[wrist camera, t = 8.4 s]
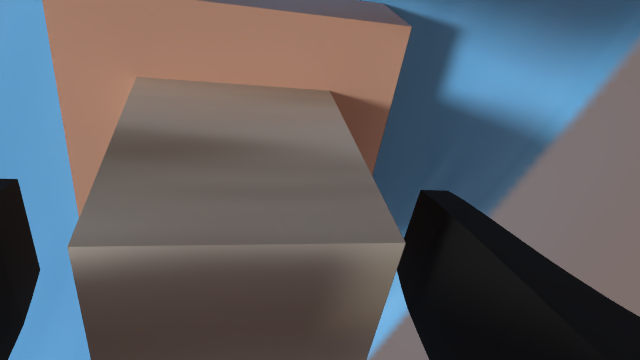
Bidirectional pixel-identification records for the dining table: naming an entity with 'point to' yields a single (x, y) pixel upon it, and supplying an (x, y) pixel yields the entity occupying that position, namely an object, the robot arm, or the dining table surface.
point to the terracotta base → (219, 59)
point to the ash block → (232, 229)
